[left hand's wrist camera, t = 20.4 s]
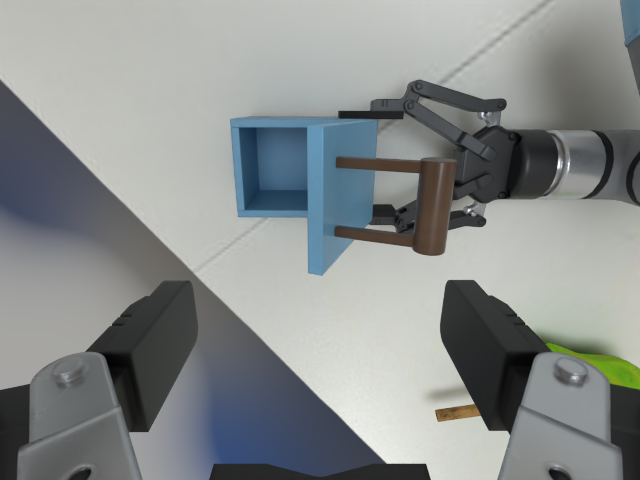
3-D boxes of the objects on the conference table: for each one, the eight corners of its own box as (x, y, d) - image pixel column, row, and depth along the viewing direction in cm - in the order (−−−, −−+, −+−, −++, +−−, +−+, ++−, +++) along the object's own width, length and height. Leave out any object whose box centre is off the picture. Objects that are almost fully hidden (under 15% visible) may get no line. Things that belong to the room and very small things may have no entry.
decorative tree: (440, 397, 46) (687, 359, 43) (421, 347, 56) (622, 314, 53) (453, 490, 52) (672, 463, 49) (434, 430, 62) (615, 405, 59)
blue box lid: (307, 273, 25) (438, 296, 22) (306, 125, 21) (460, 128, 18) (361, 218, 37) (449, 228, 34) (366, 119, 33) (464, 121, 30)
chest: (254, 194, 47) (237, 217, 37) (250, 116, 44) (229, 118, 34) (356, 194, 47) (366, 217, 37) (359, 117, 44) (371, 119, 34)
